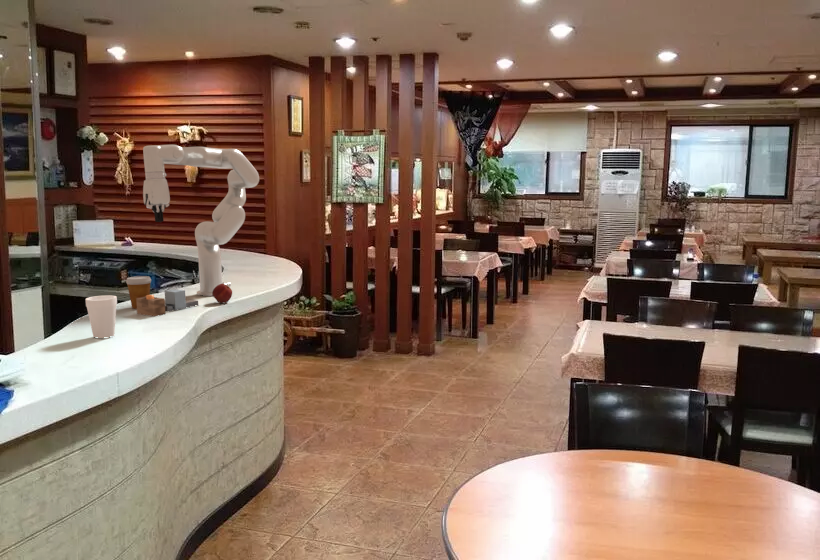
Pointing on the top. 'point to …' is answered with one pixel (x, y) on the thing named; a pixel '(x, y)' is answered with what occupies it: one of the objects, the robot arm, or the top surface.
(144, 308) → the tan slotted block
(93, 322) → the foam cup
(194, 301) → the rail
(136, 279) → the disposable coffee cup
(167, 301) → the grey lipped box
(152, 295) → the peg
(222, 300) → the apple
